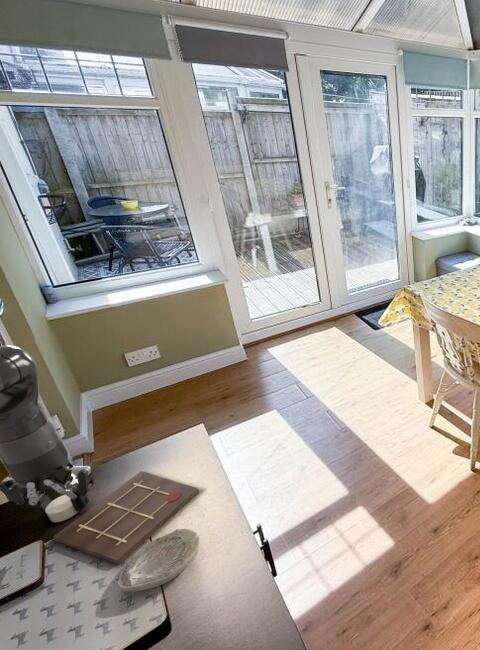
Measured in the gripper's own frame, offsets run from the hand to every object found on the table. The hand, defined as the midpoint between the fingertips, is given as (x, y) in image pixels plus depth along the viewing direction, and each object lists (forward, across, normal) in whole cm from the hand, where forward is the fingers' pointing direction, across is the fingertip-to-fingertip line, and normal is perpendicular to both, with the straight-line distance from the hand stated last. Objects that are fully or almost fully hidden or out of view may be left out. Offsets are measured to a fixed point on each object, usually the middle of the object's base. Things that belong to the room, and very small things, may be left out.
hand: (65, 510), depth 84 cm
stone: (0, 0, 0) cm, 0 cm away
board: (+1, -13, +4) cm, 13 cm away
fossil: (+1, -24, +17) cm, 29 cm away
